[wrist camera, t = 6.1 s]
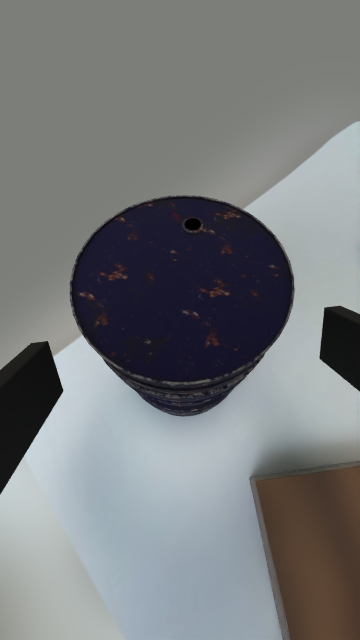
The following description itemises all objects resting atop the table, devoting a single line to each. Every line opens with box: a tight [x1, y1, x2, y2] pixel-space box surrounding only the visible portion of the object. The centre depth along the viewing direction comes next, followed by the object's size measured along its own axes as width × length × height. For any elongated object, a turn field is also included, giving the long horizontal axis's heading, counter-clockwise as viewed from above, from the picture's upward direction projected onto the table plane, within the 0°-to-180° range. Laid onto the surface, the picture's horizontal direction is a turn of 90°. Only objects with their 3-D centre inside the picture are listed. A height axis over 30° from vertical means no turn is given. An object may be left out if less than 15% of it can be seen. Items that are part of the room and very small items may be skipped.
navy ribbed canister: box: [70, 195, 294, 416], centre depth 18 cm, size 10×10×15 cm
